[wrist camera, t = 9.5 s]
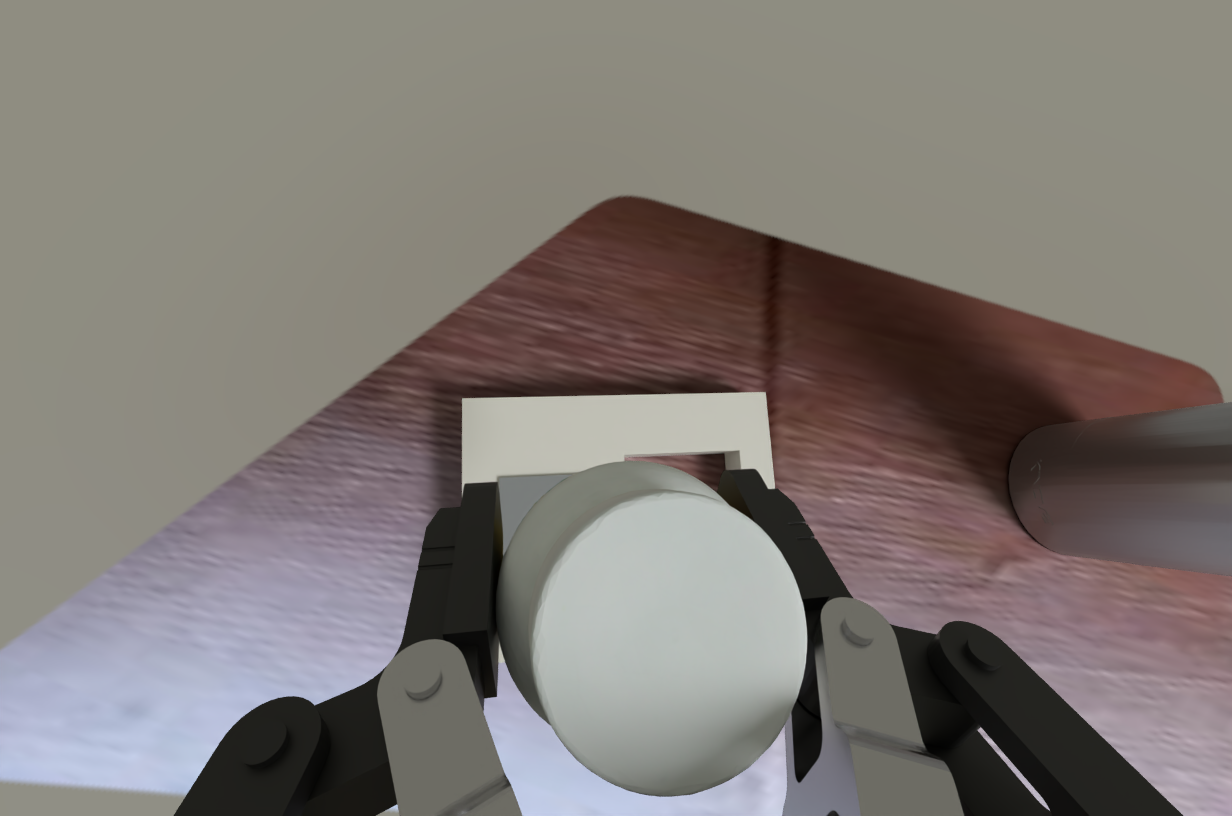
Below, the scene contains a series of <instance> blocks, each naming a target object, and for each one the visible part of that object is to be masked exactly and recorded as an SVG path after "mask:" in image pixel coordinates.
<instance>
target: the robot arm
mask: <svg viewBox="0 0 1232 816" xmlns="http://www.w3.org/2000/svg"><path fill="white" fill-rule="evenodd" d="M1009 488H1010V495H1011V499H1012V502H1013V506H1014V508H1015V511H1016V513H1017V515H1018V517H1019V519H1020V521H1021V522H1022V524H1023V525H1024V527H1025V528H1026V529H1027V531H1028V532H1029V533H1030V534H1031V535H1032V536H1033V537H1034V538H1035V539H1036V540H1037V541H1038V542H1039V543H1041V544H1042V545H1044V546H1045V547H1047V548H1048V549H1049V550H1052V551H1054V552H1057V553H1059V554H1062V555H1069V556H1075V557H1083V558H1091V559H1099V560H1107V561H1114V562H1122V563H1130V564H1136V565H1144V566H1152V567H1160V568H1168V569H1176V570H1184V571H1192V572H1200V573H1208V574H1216V575H1224V576H1232V402H1228V403H1220V404H1212V405H1205V406H1197V407H1189V408H1181V409H1173V410H1165V411H1158V412H1150V413H1142V414H1134V415H1126V416H1118V417H1109V418H1101V419H1093V420H1085V421H1078V422H1070V423H1062V424H1054V425H1048V426H1044V427H1041V428H1037V429H1036V430H1034V431H1032V432H1031V433H1029V434H1028V435H1027V436H1026V437H1025V438H1024V439H1023V440H1022V441H1021V442H1020V443H1019V445H1018V447H1017V448H1016V450H1015V452H1014V454H1013V457H1012V460H1011V463H1010V470H1009ZM717 494H718V495H720V496H721V497H722V498H723V499H724V500H725V501H726V502H727V503H728V504H729V505H730V506H731V507H733V508H735V509H736V510H738V511H739V512H741V513H742V514H744V515H745V516H747V517H748V518H750V519H751V520H752V521H753V522H755V523H756V524H757V525H758V526H760V527H761V528H762V529H763V531H764V532H765V533H766V534H767V535H768V536H769V537H770V538H771V540H772V541H773V542H774V544H775V545H776V546H777V548H778V549H779V550H780V551H781V553H782V555H783V557H784V558H785V560H786V562H787V564H788V565H789V567H790V569H791V571H792V573H793V575H794V578H795V580H796V583H797V586H798V588H799V592H800V595H801V599H802V602H803V606H804V612H805V618H806V626H807V654H806V664H805V670H804V676H803V680H802V683H801V687H800V690H799V694H798V697H797V699H796V702H795V704H794V706H793V709H792V711H791V713H790V716H789V718H788V720H787V721H786V723H785V743H786V766H787V793H786V799H785V803H784V808H783V814H782V816H1183V815H1182V814H1181V813H1180V812H1179V811H1178V810H1177V809H1176V808H1175V807H1174V806H1173V805H1172V804H1171V803H1170V802H1169V801H1168V800H1167V799H1166V798H1165V797H1163V796H1162V795H1161V794H1160V793H1159V792H1158V791H1157V790H1156V789H1155V788H1154V787H1153V786H1152V785H1151V784H1150V783H1149V782H1148V781H1147V780H1146V779H1145V778H1144V777H1143V776H1142V775H1141V774H1140V773H1139V772H1138V771H1137V770H1136V769H1135V768H1134V767H1132V766H1131V765H1130V764H1129V763H1128V762H1127V761H1126V760H1125V759H1124V758H1123V757H1122V756H1121V755H1120V754H1119V753H1118V752H1117V751H1116V750H1115V749H1114V748H1113V747H1112V746H1111V745H1110V744H1109V743H1108V742H1107V741H1106V740H1105V739H1104V738H1102V737H1101V736H1100V735H1099V734H1098V733H1097V732H1096V731H1095V730H1094V729H1093V728H1092V727H1091V726H1090V725H1089V724H1088V723H1087V722H1086V721H1085V720H1084V719H1083V718H1082V717H1081V716H1080V715H1079V714H1078V713H1077V712H1076V711H1075V710H1074V709H1073V708H1071V707H1070V706H1069V705H1068V704H1067V703H1066V702H1065V701H1064V700H1063V699H1062V698H1061V697H1060V696H1059V695H1058V694H1057V693H1056V692H1055V691H1054V690H1053V689H1052V688H1051V687H1050V686H1049V685H1048V684H1047V683H1046V682H1045V681H1044V680H1043V679H1042V678H1040V677H1039V676H1038V675H1037V674H1036V673H1035V672H1034V671H1033V670H1032V669H1031V668H1030V667H1029V666H1028V665H1027V664H1026V663H1025V662H1024V661H1023V660H1022V659H1021V658H1020V657H1019V656H1018V655H1017V654H1016V653H1015V652H1014V651H1013V650H1012V649H1011V648H1009V647H1008V646H1007V645H1006V644H1005V643H1004V642H1003V641H1002V640H1001V639H1000V638H998V637H997V636H995V635H994V634H993V633H991V632H989V631H988V630H986V629H984V628H982V627H980V626H978V625H975V624H972V623H969V622H963V621H953V622H949V623H947V624H946V625H944V626H943V627H942V629H941V630H940V631H939V632H938V634H937V635H936V634H931V633H926V632H922V631H917V630H912V629H908V628H903V627H898V626H895V625H891V624H889V623H888V621H887V620H886V619H885V618H884V617H883V616H882V615H881V614H880V613H879V612H878V611H877V610H875V609H874V608H873V607H871V606H869V605H868V604H866V603H864V602H862V601H859V600H856V599H854V598H853V597H852V596H851V594H850V593H849V591H848V590H847V588H846V586H845V585H844V583H843V581H842V580H841V578H840V577H839V575H838V573H837V572H836V570H835V568H834V567H833V565H832V564H831V562H830V560H829V559H828V557H827V555H826V554H825V552H824V550H823V549H822V547H821V546H820V544H819V542H818V541H817V539H815V538H814V534H813V532H812V531H811V529H810V528H809V526H808V525H806V523H805V519H804V518H803V516H802V514H801V513H800V511H799V510H798V508H797V506H796V505H795V503H794V502H792V501H791V500H790V499H789V498H788V497H787V496H786V495H784V494H783V493H782V492H781V491H780V490H779V489H768V487H767V486H766V484H765V482H764V480H763V479H762V477H761V475H760V474H759V472H758V471H757V470H756V469H736V470H725V471H723V473H722V475H721V478H720V482H719V486H718V490H717ZM502 558H503V525H502V514H501V504H500V493H499V484H498V482H482V483H465V485H464V488H463V495H462V502H461V507H456V508H440V509H439V511H438V512H437V514H436V515H435V516H434V518H433V519H432V520H431V522H430V523H429V524H428V526H427V527H426V532H425V536H424V541H423V546H422V553H421V555H420V560H419V565H418V571H417V574H416V579H415V584H414V588H413V593H412V598H411V602H410V607H409V612H408V617H407V621H406V626H405V631H404V635H403V639H402V642H401V645H400V647H399V649H398V651H397V653H396V655H395V656H394V658H393V659H392V660H391V662H390V663H389V664H388V665H387V666H386V667H385V668H384V669H383V670H382V671H381V672H380V673H379V674H378V675H377V676H375V677H374V678H373V679H371V680H370V681H368V682H366V683H365V684H363V685H361V686H359V687H357V688H355V689H352V690H350V691H348V692H345V693H343V694H341V695H338V696H336V697H334V698H331V699H329V700H327V701H324V702H322V703H320V704H317V705H315V706H314V704H312V703H311V702H310V701H309V700H306V699H304V698H301V697H295V696H292V697H282V698H277V699H274V700H271V701H268V702H266V703H264V704H262V705H260V706H258V707H256V708H255V709H253V710H251V711H250V712H249V713H247V714H246V715H245V716H243V717H242V718H241V719H240V720H239V721H238V722H237V723H236V724H235V725H234V726H233V727H232V728H231V729H230V730H229V731H228V732H227V734H226V735H225V736H224V738H223V739H222V741H221V742H220V743H219V745H218V747H217V748H216V750H215V751H214V753H213V754H212V756H211V758H210V759H209V761H208V762H207V764H206V765H205V767H204V769H203V770H202V772H201V773H200V775H199V776H198V778H197V780H196V781H195V783H194V784H193V786H192V787H191V789H190V791H189V792H188V794H187V795H186V797H185V799H184V800H183V802H182V803H181V805H180V806H179V808H178V810H177V811H176V813H175V814H174V816H376V815H378V814H380V813H382V812H383V811H385V810H387V809H389V808H391V807H393V806H395V805H396V804H398V809H399V815H400V816H522V813H521V811H520V808H519V805H518V802H517V800H516V797H515V794H514V792H513V789H512V787H511V784H510V782H509V780H508V779H507V777H506V775H505V773H504V770H503V768H502V765H501V762H500V759H499V756H498V754H497V751H496V748H495V745H494V742H493V739H492V736H491V733H490V730H489V728H488V725H487V722H486V719H485V716H484V713H483V710H484V698H491V697H497V682H498V659H499V637H498V632H497V624H496V591H497V585H498V578H499V572H500V567H501V563H502ZM980 727H981V728H982V729H983V730H984V731H985V732H986V733H987V734H988V736H989V737H990V738H991V739H992V740H993V741H994V742H995V744H996V745H997V746H998V747H999V748H1000V749H1001V751H1002V752H1003V753H1004V754H1005V755H1006V756H1007V757H1008V759H1009V760H1010V761H1011V762H1012V763H1013V764H1014V765H1015V767H1016V768H1017V769H1018V770H1019V771H1020V772H1021V774H1022V775H1023V776H1024V777H1025V778H1026V779H1027V780H1028V782H1029V783H1030V784H1031V785H1032V786H1033V787H1034V788H1035V790H1036V791H1037V792H1038V793H1039V794H1040V795H1041V797H1042V798H1043V799H1044V801H1045V802H1046V804H1047V805H1048V807H1049V809H1050V811H1049V810H1047V809H1046V808H1045V807H1044V806H1043V805H1042V804H1040V803H1039V801H1038V800H1037V799H1036V798H1035V797H1034V796H1033V795H1032V794H1031V792H1030V791H1029V790H1028V789H1027V788H1026V787H1025V785H1024V784H1023V783H1022V782H1021V781H1020V780H1019V778H1018V777H1017V776H1016V775H1015V774H1014V773H1013V771H1012V770H1011V769H1010V768H1009V767H1008V766H1007V764H1006V763H1005V762H1004V761H1003V760H1002V759H1001V757H1000V756H999V755H998V754H997V753H996V752H995V750H994V749H993V748H992V747H991V746H990V745H989V744H988V742H987V741H986V740H985V739H984V738H983V737H982V735H981V734H980V733H979V732H978V731H977V730H978V729H979V728H980Z"/></svg>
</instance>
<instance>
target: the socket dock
mask: <svg viewBox="0 0 1232 816" xmlns="http://www.w3.org/2000/svg"><path fill="white" fill-rule="evenodd" d="M722 453H724V454H725V466H726V470H736V469H756V470H757V471H758V472H759V474H760V475H761V477H762V479H763V480H764V482H765V484H766V486H767V487H768V489H775V483H774V473H773V463H772V453H771V443H770V433H769V423H768V413H767V403H766V393H765V392H750V393H701V394H652V395H603V396H554V397H505V398H462V495H463V488H464V485H465V483H482V482H498V484H499V493H500V504H501V514H502V525H503V556H504V554H505V552H506V549H507V548H508V546H509V543H510V541H511V539H512V537H513V535H514V533H515V531H516V530H517V528H518V526H519V524H520V523H521V521H522V520H523V518H524V517H525V516H526V515H527V513H528V512H529V510H530V509H531V508H532V507H533V505H534V504H535V503H536V502H537V501H538V500H539V499H540V498H541V497H542V496H543V495H545V494H546V493H547V492H548V491H549V490H551V489H552V488H553V487H554V486H555V485H557V484H558V483H559V482H561V481H562V480H564V479H566V478H567V477H569V476H572V475H574V474H576V473H579V472H581V471H584V470H586V469H589V468H592V467H595V466H598V465H602V464H607V463H612V462H621V461H624V457H647V456H672V455H697V454H722ZM502 662H505V660H504V657H503V654H502V651H501V647H500V643H499V659H498V663H502Z"/></svg>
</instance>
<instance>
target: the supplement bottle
mask: <svg viewBox="0 0 1232 816" xmlns="http://www.w3.org/2000/svg"><path fill="white" fill-rule="evenodd" d="M496 624H497V632H498V637H499V643H500V647H501V651H502V654H503V657H504V660H505V663H506V665H507V668H508V670H509V673H510V675H511V677H512V679H513V681H514V683H515V684H516V686H517V688H518V689H519V691H520V692H521V694H522V695H523V697H524V698H525V700H526V701H527V702H528V704H529V705H530V706H531V707H532V709H533V710H534V711H535V712H536V713H537V714H538V715H539V716H540V717H541V718H542V719H543V720H545V721H546V722H547V723H548V724H549V725H550V726H552V728H553V730H554V732H555V733H556V735H557V736H558V738H559V739H560V740H561V742H562V743H563V744H564V746H565V747H566V748H567V749H568V751H569V752H570V753H571V754H572V755H573V756H574V757H575V758H576V760H577V761H579V762H580V763H581V764H582V765H584V766H585V767H586V768H587V769H589V770H590V771H591V772H593V773H594V774H596V775H598V776H599V777H601V778H602V779H604V780H606V781H608V782H610V783H611V784H614V785H616V786H618V787H621V788H623V789H626V790H628V791H632V792H635V793H639V794H644V795H651V796H681V795H691V794H695V793H698V792H701V791H704V790H707V789H710V788H712V787H715V786H717V785H720V784H722V783H724V782H726V781H728V780H730V779H732V778H733V777H735V776H737V775H738V774H740V773H741V772H743V771H744V770H746V769H747V768H749V767H750V766H751V765H752V764H753V763H754V762H755V761H756V760H757V759H758V758H759V757H760V756H761V755H762V754H763V753H764V752H765V751H766V750H767V749H768V748H769V747H770V746H771V745H772V743H773V742H774V741H775V739H776V738H777V736H778V735H779V733H780V731H781V730H782V728H783V726H784V725H785V723H786V721H787V720H788V718H789V716H790V713H791V711H792V709H793V706H794V704H795V702H796V699H797V697H798V694H799V690H800V687H801V683H802V680H803V676H804V670H805V664H806V654H807V626H806V618H805V612H804V606H803V602H802V599H801V595H800V592H799V588H798V586H797V583H796V580H795V578H794V575H793V573H792V571H791V569H790V567H789V565H788V564H787V562H786V560H785V558H784V557H783V555H782V553H781V551H780V550H779V549H778V548H777V546H776V545H775V544H774V542H773V541H772V540H771V538H770V537H769V536H768V535H767V534H766V533H765V532H764V531H763V529H762V528H761V527H760V526H758V525H757V524H756V523H755V522H753V521H752V520H751V519H750V518H748V517H747V516H745V515H744V514H742V513H741V512H739V511H738V510H736V509H735V508H733V507H731V506H730V505H729V504H728V503H727V502H726V501H725V500H724V499H723V498H722V497H721V496H720V495H718V494H717V493H716V492H715V491H714V490H713V489H711V488H710V487H709V486H707V485H706V484H705V483H703V482H702V481H700V480H698V479H697V478H695V477H693V476H691V475H689V474H687V473H685V472H683V471H681V470H678V469H676V468H673V467H670V466H666V465H662V464H658V463H652V462H644V461H621V462H612V463H607V464H602V465H598V466H595V467H592V468H589V469H586V470H584V471H581V472H579V473H576V474H574V475H572V476H569V477H567V478H566V479H564V480H562V481H561V482H559V483H558V484H557V485H555V486H554V487H553V488H552V489H551V490H549V491H548V492H547V493H546V494H545V495H543V496H542V497H541V498H540V499H539V500H538V501H537V502H536V503H535V504H534V505H533V507H532V508H531V509H530V510H529V512H528V513H527V515H526V516H525V517H524V518H523V520H522V521H521V523H520V524H519V526H518V528H517V530H516V531H515V533H514V535H513V537H512V539H511V541H510V543H509V546H508V548H507V549H506V552H505V554H504V556H503V558H502V563H501V567H500V572H499V578H498V585H497V591H496Z"/></svg>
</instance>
